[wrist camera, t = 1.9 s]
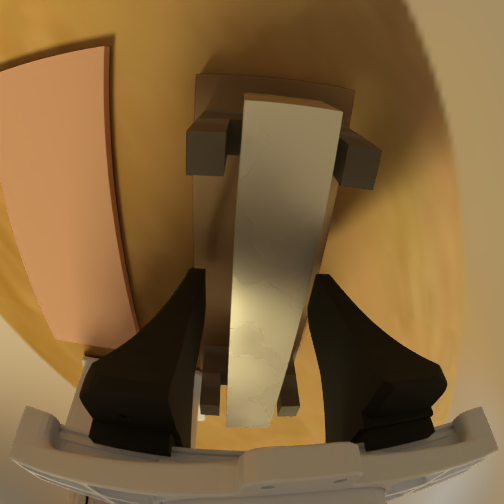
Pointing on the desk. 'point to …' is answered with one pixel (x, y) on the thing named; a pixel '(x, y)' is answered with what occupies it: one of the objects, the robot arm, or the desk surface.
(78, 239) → the mat
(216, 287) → the hook stand
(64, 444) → the robot arm
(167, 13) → the desk surface
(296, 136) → the steel rail
